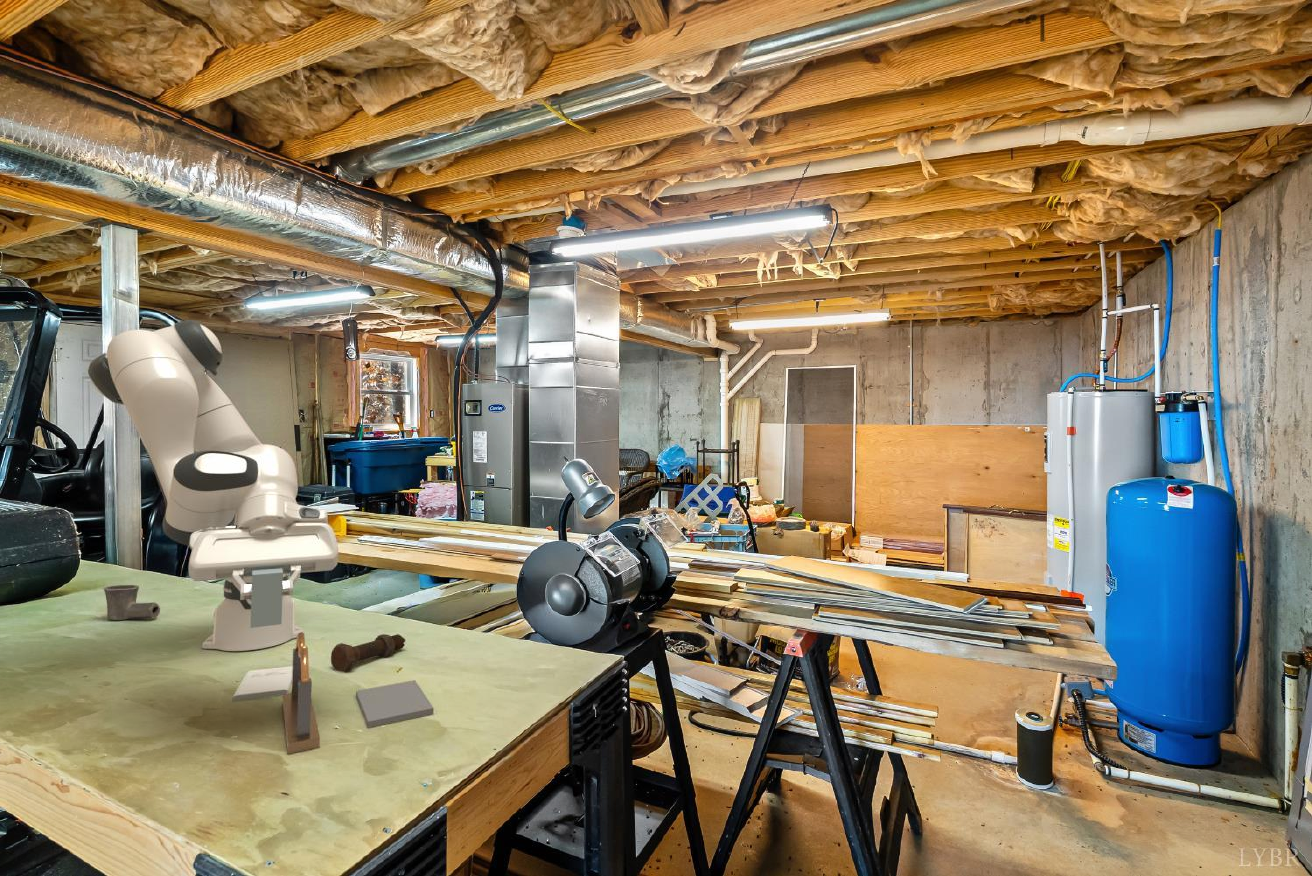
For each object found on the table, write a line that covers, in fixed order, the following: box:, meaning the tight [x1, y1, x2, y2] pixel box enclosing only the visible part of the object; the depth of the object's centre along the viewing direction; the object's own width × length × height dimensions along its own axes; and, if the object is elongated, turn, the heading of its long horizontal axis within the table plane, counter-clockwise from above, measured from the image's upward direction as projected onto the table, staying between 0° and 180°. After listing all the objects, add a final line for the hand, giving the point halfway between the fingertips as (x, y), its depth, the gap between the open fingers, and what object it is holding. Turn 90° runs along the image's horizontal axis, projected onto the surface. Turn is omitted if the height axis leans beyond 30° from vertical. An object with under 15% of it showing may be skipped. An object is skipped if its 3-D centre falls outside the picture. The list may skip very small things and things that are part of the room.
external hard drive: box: [232, 665, 292, 702], centre depth 112 cm, size 2×8×12 cm
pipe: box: [102, 584, 161, 621], centre depth 149 cm, size 6×13×8 cm, turn 89°
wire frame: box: [282, 631, 321, 755], centre depth 97 cm, size 20×4×14 cm, turn 34°
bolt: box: [330, 633, 406, 673], centre depth 126 cm, size 6×5×15 cm
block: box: [250, 568, 283, 628], centre depth 94 cm, size 4×4×8 cm
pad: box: [355, 679, 434, 729], centre depth 104 cm, size 14×10×1 cm
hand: (267, 595), depth 94 cm, fingers closed on block, 4 cm apart
